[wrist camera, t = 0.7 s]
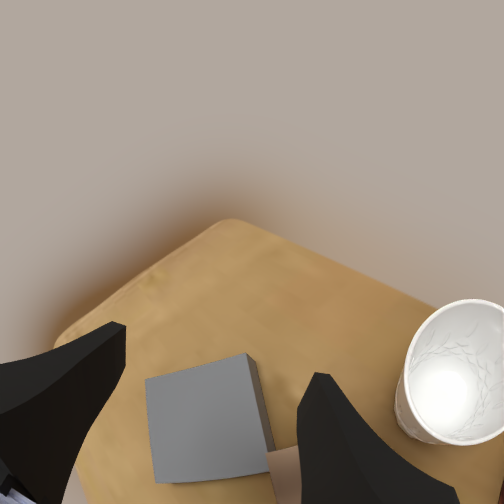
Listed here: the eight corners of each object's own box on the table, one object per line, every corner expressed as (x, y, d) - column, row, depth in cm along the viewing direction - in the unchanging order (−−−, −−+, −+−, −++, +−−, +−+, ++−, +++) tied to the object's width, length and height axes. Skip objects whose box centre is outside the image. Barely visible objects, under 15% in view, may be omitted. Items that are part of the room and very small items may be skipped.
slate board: (280, 468, 19) (272, 470, 17) (171, 483, 20) (155, 483, 19) (255, 361, 26) (245, 352, 24) (159, 386, 27) (145, 379, 25)
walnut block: (356, 486, 17) (355, 498, 12) (298, 501, 17) (280, 516, 13) (341, 437, 20) (337, 433, 15) (286, 453, 20) (265, 453, 16)
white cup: (386, 456, 17) (406, 460, 10) (383, 363, 22) (395, 311, 15) (479, 436, 15) (542, 419, 8) (469, 347, 20) (515, 287, 12)
